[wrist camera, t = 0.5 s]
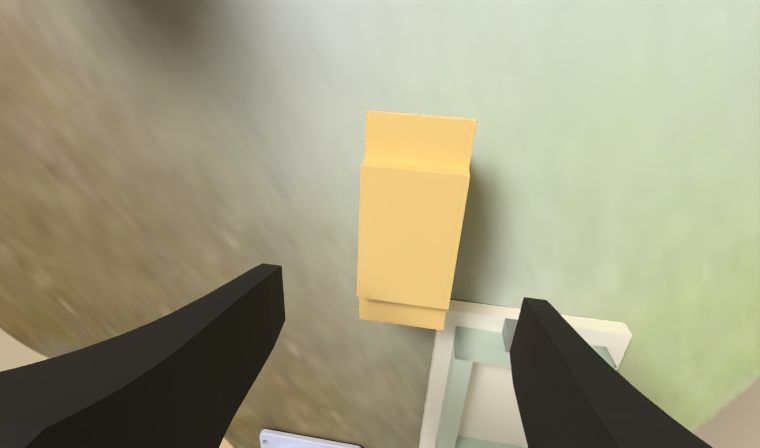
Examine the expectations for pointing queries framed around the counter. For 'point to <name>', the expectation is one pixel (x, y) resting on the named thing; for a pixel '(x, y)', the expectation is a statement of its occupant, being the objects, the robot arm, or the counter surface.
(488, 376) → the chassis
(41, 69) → the counter surface
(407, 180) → the block
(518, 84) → the counter surface
